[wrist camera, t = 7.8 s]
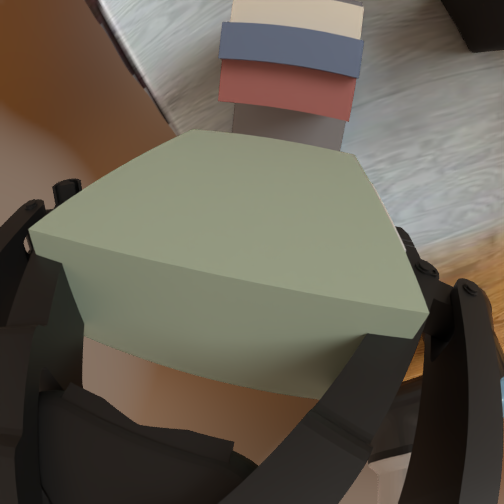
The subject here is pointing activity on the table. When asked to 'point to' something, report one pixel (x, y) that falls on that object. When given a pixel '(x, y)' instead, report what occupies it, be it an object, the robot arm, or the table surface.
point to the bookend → (479, 23)
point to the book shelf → (292, 68)
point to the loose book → (236, 261)
